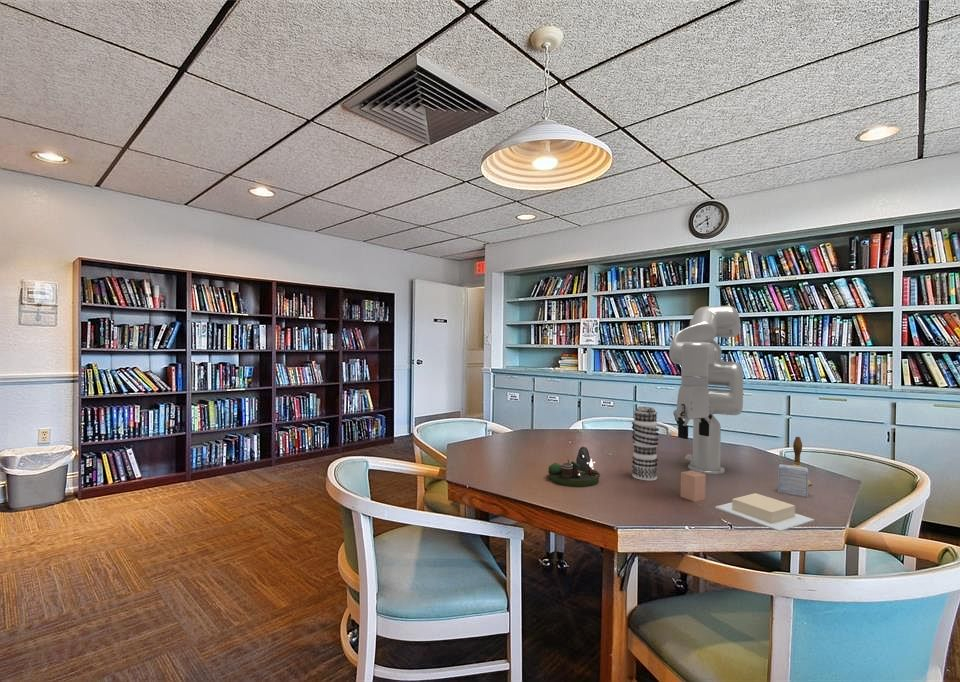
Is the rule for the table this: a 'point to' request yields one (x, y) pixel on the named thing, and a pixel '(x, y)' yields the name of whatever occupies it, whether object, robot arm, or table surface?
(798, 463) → the hand bell
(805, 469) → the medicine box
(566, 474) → the toy scene
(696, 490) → the terracotta block
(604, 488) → the table surface
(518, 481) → the table surface
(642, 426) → the black white tall cylinder
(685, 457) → the robot arm
